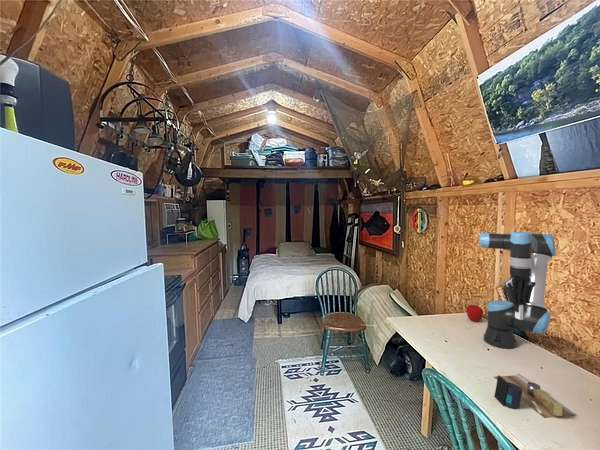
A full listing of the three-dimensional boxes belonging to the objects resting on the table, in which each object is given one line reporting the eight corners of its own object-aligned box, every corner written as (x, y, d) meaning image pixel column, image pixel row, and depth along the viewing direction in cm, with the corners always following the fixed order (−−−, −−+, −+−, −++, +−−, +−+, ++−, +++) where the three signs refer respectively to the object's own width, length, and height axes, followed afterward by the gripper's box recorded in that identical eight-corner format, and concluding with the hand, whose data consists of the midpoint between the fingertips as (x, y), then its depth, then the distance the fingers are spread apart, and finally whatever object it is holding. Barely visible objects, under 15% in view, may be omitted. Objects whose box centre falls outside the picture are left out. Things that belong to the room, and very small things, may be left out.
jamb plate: (518, 377, 128) (518, 373, 128) (575, 419, 103) (575, 414, 103) (493, 379, 127) (493, 375, 127) (544, 421, 102) (544, 416, 102)
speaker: (497, 408, 109) (500, 382, 108) (493, 399, 114) (496, 374, 113) (521, 415, 106) (525, 388, 105) (516, 406, 111) (520, 380, 110)
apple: (469, 323, 186) (469, 307, 186) (463, 317, 196) (463, 302, 195) (486, 324, 185) (486, 307, 184) (479, 318, 194) (479, 302, 194)
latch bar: (524, 390, 117) (525, 380, 116) (535, 391, 116) (536, 380, 116) (551, 417, 102) (552, 405, 101) (564, 418, 101) (564, 406, 101)
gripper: (527, 264, 131) (525, 314, 132) (499, 265, 130) (498, 316, 131) (541, 268, 123) (540, 321, 125) (513, 269, 122) (511, 322, 124)
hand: (518, 318), depth 128 cm, fingers closed
